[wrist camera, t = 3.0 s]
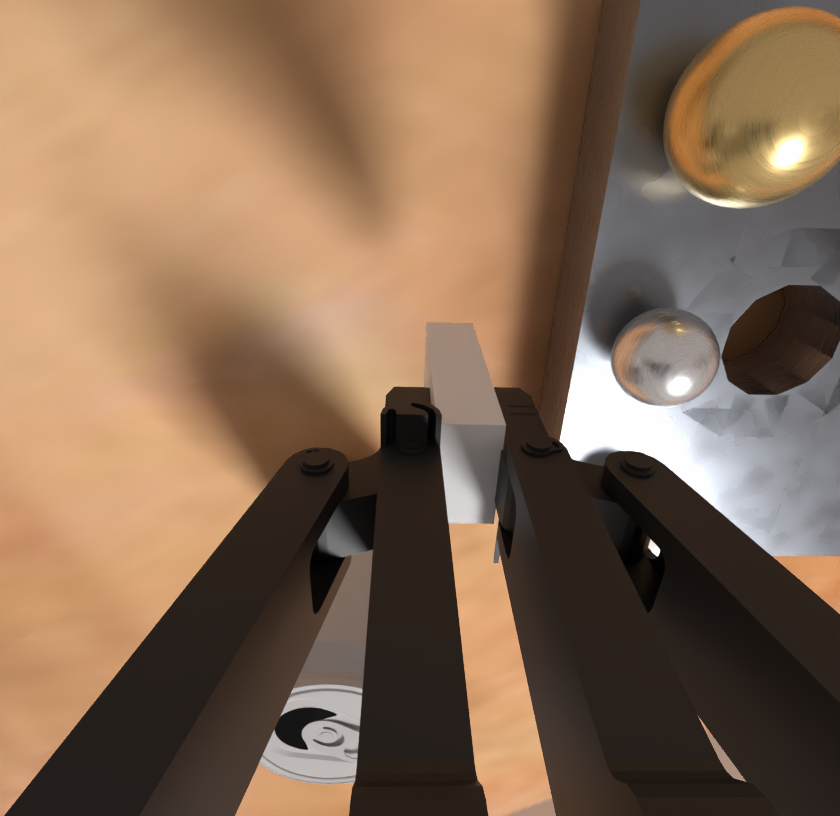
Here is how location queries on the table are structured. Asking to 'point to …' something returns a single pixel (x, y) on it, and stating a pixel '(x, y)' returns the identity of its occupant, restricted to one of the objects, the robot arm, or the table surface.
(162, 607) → the table surface
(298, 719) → the beverage can
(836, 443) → the plate
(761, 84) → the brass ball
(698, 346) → the steel ball
